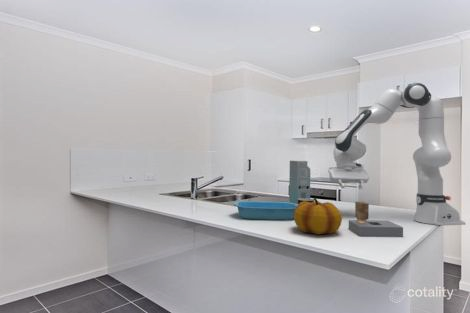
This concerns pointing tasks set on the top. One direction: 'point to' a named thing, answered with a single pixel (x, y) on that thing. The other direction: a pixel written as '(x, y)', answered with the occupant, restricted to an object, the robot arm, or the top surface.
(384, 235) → the socket block
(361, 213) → the walnut plug
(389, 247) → the top surface
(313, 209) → the decorative pumpkin
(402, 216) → the top surface
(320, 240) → the top surface
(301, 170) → the device
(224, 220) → the top surface
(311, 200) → the coffee mug
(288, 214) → the casserole dish
